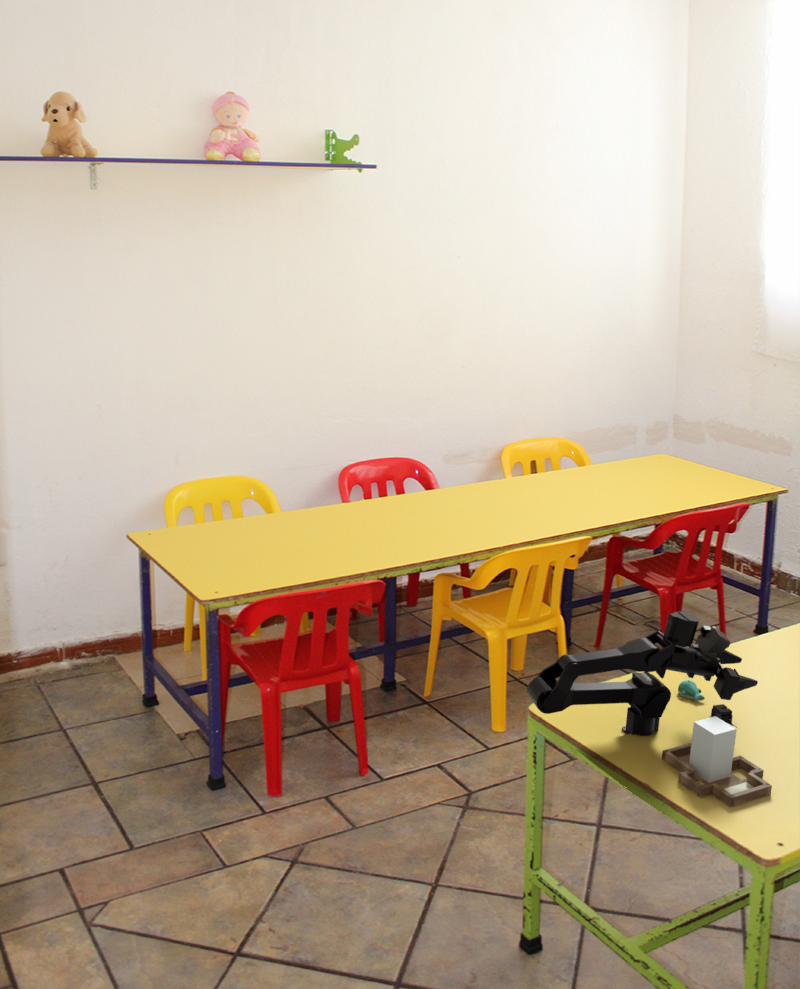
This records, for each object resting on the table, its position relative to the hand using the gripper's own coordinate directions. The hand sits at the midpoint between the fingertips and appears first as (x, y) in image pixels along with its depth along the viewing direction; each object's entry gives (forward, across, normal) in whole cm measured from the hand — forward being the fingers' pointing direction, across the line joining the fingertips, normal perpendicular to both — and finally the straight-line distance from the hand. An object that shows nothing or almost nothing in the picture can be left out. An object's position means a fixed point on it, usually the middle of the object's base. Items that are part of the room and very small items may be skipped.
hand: (748, 671), depth 223 cm
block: (-13, -22, +13) cm, 29 cm away
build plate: (0, +1, +16) cm, 16 cm away
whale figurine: (-2, +14, +18) cm, 23 cm away
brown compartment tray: (-12, -23, +14) cm, 30 cm away
